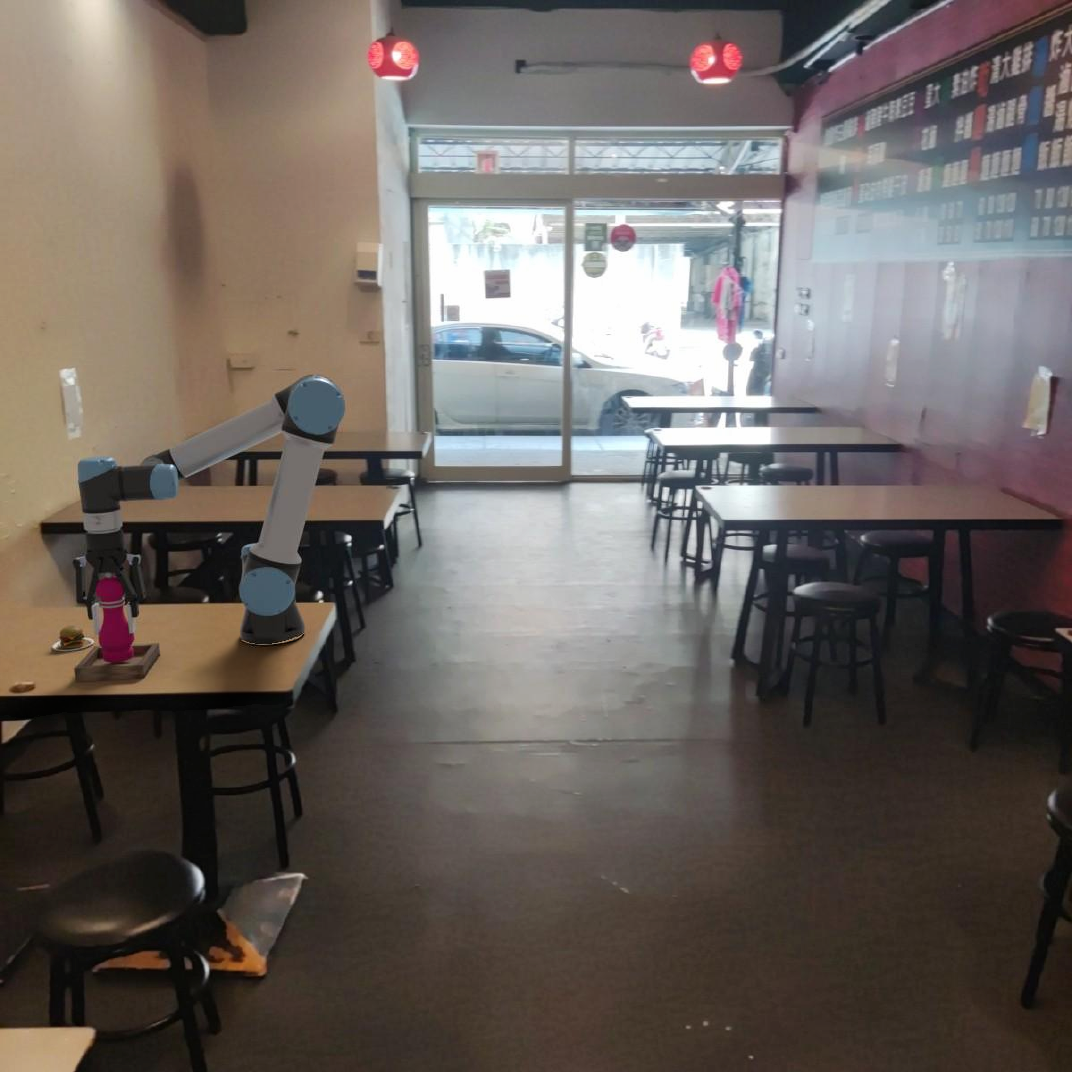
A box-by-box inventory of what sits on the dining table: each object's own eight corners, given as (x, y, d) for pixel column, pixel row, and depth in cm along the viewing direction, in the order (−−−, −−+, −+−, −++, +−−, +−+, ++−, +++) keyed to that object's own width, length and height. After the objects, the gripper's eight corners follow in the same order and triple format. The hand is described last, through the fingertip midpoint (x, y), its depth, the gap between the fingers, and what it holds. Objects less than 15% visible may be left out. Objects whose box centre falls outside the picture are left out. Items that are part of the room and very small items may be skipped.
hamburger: (104, 637, 233) (102, 616, 232) (97, 654, 222) (94, 631, 221) (51, 642, 230) (48, 620, 229) (40, 659, 219) (37, 636, 218)
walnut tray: (160, 655, 219) (158, 643, 218) (144, 678, 205) (143, 664, 205) (96, 658, 217) (94, 646, 216) (75, 681, 204) (74, 668, 203)
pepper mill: (142, 652, 214) (133, 566, 209) (126, 663, 207) (115, 575, 202) (111, 651, 215) (101, 565, 210) (94, 663, 208) (83, 574, 203)
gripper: (49, 535, 199) (63, 640, 204) (146, 531, 202) (157, 635, 207) (61, 527, 206) (74, 629, 212) (155, 524, 209) (165, 624, 214)
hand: (115, 632), depth 209 cm, fingers closed on pepper mill, 6 cm apart
